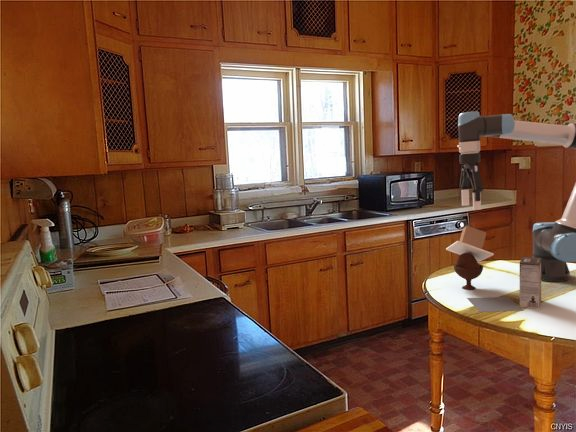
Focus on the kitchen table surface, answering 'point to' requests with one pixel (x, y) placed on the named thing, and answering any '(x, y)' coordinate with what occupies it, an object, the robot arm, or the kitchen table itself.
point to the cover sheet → (470, 250)
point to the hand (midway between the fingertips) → (471, 207)
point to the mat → (494, 304)
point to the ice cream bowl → (468, 269)
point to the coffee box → (530, 282)
